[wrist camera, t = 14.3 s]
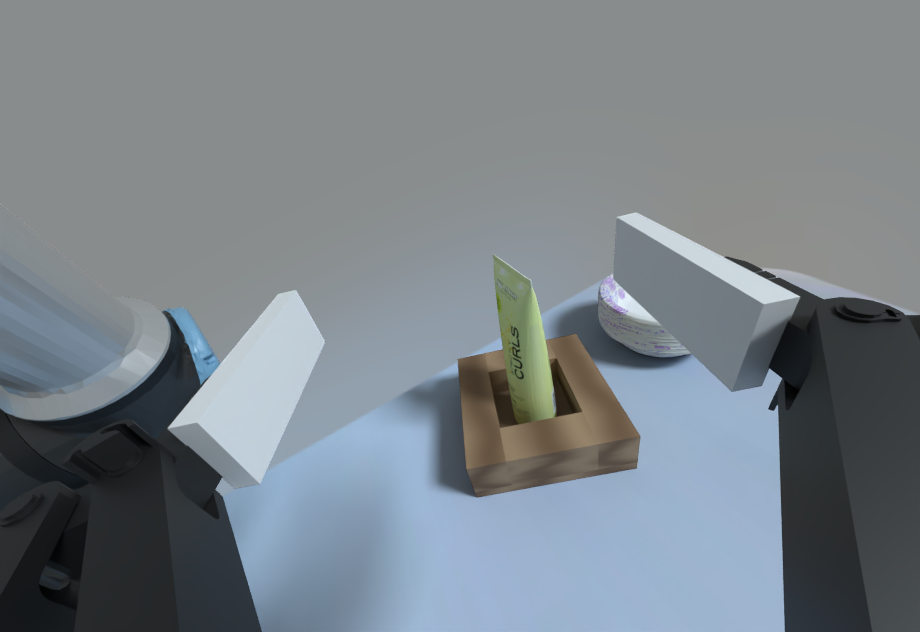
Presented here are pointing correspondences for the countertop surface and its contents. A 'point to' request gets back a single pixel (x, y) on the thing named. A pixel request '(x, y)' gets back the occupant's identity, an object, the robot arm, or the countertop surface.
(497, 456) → the socket block
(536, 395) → the tube
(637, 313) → the paper bowls
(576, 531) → the countertop surface
